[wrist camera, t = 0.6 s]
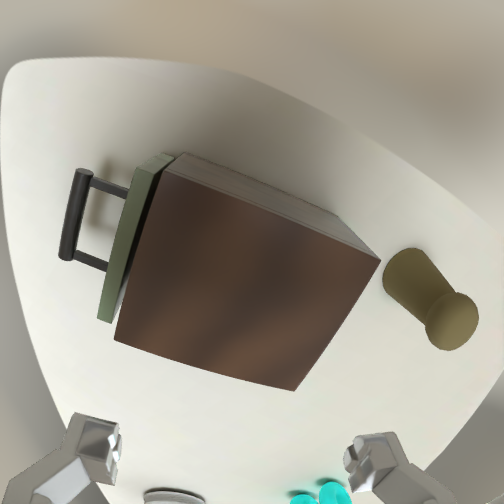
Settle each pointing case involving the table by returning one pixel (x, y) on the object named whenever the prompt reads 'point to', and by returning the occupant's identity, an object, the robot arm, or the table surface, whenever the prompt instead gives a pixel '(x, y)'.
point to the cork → (430, 299)
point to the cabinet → (240, 276)
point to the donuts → (325, 495)
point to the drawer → (127, 231)
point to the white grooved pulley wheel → (170, 498)
